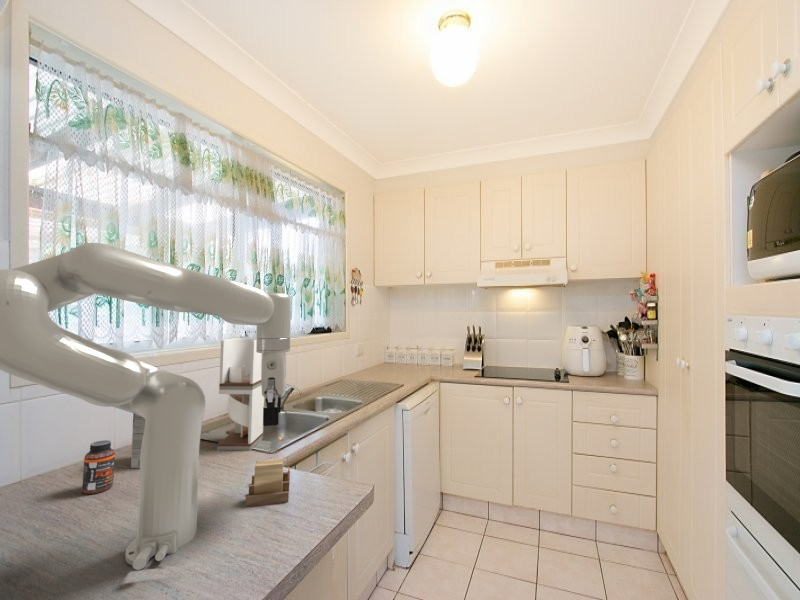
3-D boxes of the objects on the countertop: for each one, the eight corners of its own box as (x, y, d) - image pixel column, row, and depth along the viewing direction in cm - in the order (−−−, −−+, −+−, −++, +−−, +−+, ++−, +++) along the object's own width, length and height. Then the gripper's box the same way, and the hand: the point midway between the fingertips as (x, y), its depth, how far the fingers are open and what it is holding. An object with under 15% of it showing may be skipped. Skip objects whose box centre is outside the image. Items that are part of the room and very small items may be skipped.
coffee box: (148, 455, 111) (151, 402, 112) (171, 455, 112) (173, 402, 112) (129, 468, 102) (132, 410, 103) (153, 467, 103) (156, 410, 103)
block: (281, 499, 83) (282, 463, 84) (253, 502, 82) (254, 466, 82) (282, 492, 86) (283, 458, 87) (255, 495, 85) (256, 460, 85)
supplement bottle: (95, 496, 86) (97, 447, 87) (75, 493, 88) (77, 445, 88) (119, 485, 92) (121, 439, 93) (100, 482, 93) (102, 437, 94)
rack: (288, 508, 82) (288, 483, 83) (245, 513, 80) (246, 488, 80) (289, 485, 93) (290, 463, 94) (251, 489, 91) (252, 467, 91)
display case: (232, 438, 128) (235, 338, 130) (262, 438, 129) (265, 338, 130) (217, 450, 117) (220, 340, 118) (250, 450, 117) (254, 340, 119)
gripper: (289, 348, 78) (287, 429, 78) (290, 342, 95) (289, 408, 95) (251, 349, 76) (250, 432, 76) (260, 342, 93) (259, 410, 93)
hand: (272, 418), depth 85 cm, fingers open, 9 cm apart
